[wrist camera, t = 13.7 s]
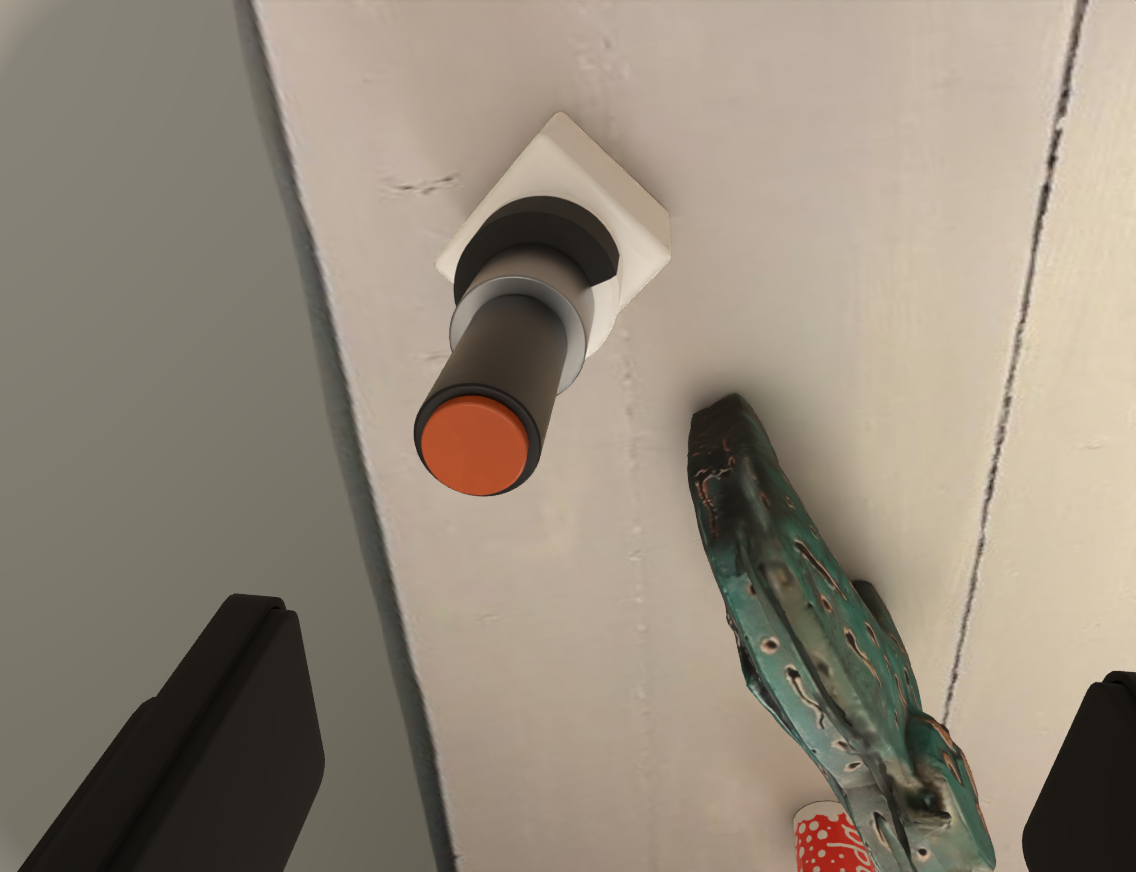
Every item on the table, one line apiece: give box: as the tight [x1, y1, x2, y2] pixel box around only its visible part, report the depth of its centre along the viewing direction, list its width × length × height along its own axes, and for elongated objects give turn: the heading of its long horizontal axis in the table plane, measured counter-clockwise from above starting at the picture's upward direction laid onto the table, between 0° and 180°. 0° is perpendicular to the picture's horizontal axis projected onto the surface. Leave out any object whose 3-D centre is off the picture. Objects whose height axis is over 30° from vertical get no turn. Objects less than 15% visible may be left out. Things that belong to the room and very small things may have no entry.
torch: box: [414, 244, 595, 496], centre depth 24 cm, size 4×4×10 cm
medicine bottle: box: [434, 112, 671, 359], centre depth 34 cm, size 7×7×12 cm
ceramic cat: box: [687, 394, 996, 872], centre depth 38 cm, size 20×6×20 cm, turn 34°
